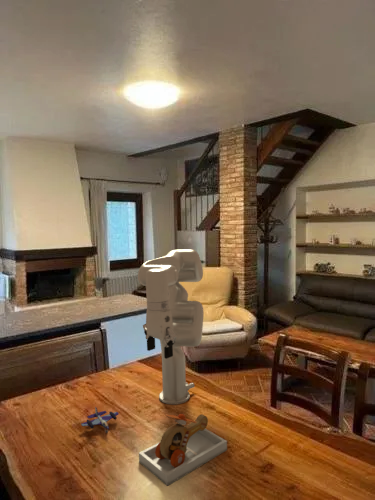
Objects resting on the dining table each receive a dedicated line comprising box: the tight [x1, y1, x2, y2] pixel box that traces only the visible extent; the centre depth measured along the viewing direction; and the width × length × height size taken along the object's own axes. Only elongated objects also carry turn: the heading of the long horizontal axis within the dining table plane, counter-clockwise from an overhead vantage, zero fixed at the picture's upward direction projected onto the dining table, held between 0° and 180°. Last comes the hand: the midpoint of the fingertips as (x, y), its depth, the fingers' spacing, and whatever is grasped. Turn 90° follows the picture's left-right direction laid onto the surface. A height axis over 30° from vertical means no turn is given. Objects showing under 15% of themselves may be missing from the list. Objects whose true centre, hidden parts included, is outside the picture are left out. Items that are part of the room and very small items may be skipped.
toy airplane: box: [81, 406, 119, 434], centre depth 134 cm, size 13×14×4 cm
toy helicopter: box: [155, 413, 209, 468], centre depth 118 cm, size 8×21×14 cm, turn 139°
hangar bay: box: [138, 427, 228, 487], centre depth 117 cm, size 24×14×3 cm, turn 131°
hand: (159, 353), depth 130 cm, fingers open, 9 cm apart
